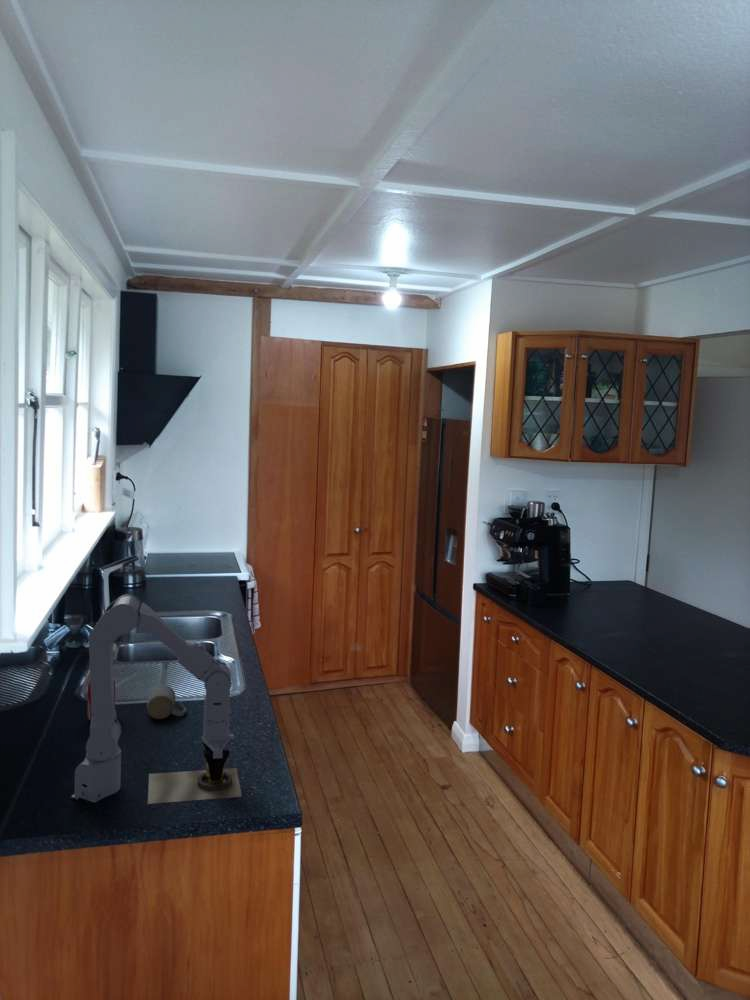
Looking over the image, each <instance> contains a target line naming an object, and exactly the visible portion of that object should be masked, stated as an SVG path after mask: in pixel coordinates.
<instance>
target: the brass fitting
mask: <svg viewBox="0 0 750 1000" xmlns="http://www.w3.org/2000/svg"><path fill="white" fill-rule="evenodd" d="M224 769H225V766H224V767H223V772H222V776H221V779H220V780H216V781H211V779H210V774H209V766H208V763H207V762H206V764H205V770H206V783H207V784H210V785H218V784H221V783H223V780H224Z"/></svg>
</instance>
